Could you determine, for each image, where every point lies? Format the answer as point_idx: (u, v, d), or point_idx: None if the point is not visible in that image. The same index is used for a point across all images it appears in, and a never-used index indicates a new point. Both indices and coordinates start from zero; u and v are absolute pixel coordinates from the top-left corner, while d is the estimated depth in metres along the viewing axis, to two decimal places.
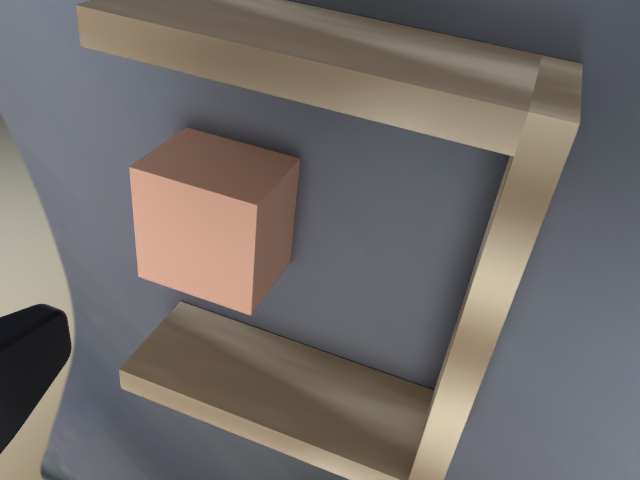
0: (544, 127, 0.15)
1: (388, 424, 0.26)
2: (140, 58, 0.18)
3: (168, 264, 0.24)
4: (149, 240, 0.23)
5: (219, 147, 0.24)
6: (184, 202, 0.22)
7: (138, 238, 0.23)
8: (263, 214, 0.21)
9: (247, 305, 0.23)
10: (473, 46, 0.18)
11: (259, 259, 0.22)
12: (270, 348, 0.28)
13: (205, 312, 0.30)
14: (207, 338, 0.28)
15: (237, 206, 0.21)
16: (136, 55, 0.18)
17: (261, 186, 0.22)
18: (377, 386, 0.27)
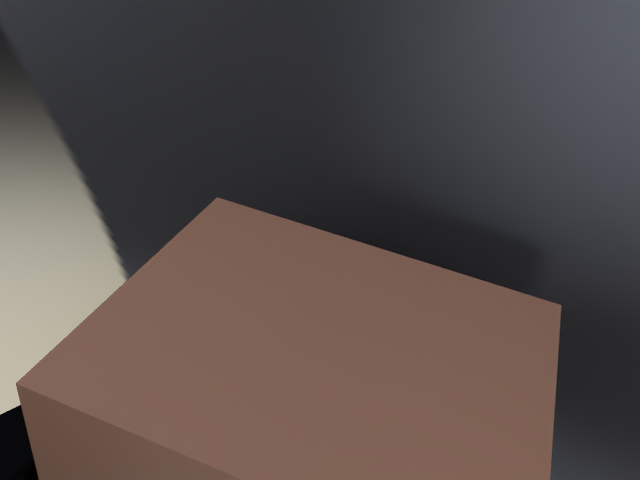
0: None
1: None
2: None
3: None
4: None
5: (316, 274, 0.08)
6: None
7: None
8: None
9: None
10: None
11: None
12: None
13: None
14: None
15: None
16: None
17: (506, 464, 0.06)
18: None
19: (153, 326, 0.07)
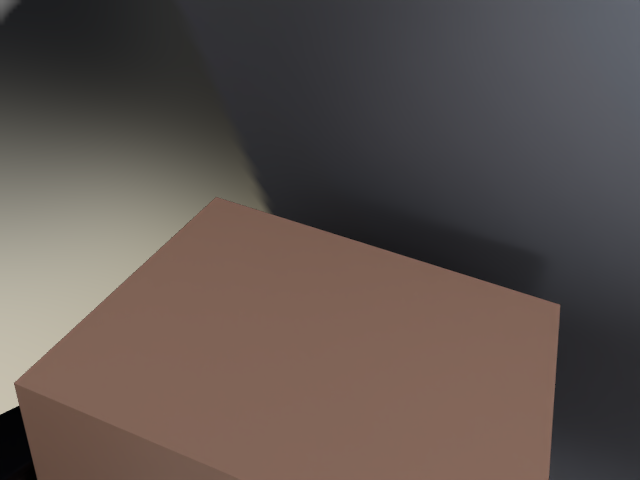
0: None
1: None
2: None
3: None
4: None
5: (315, 274, 0.08)
6: None
7: None
8: None
9: None
10: None
11: None
12: None
13: None
14: None
15: None
16: None
17: (505, 465, 0.06)
18: None
19: (152, 326, 0.07)
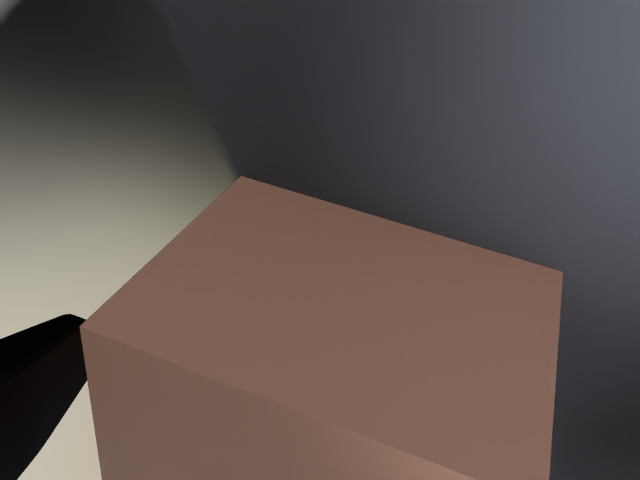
0: None
1: None
2: None
3: None
4: None
5: (339, 239, 0.09)
6: (261, 445, 0.07)
7: None
8: None
9: None
10: None
11: None
12: None
13: None
14: None
15: None
16: None
17: (516, 396, 0.07)
18: None
19: (196, 281, 0.07)
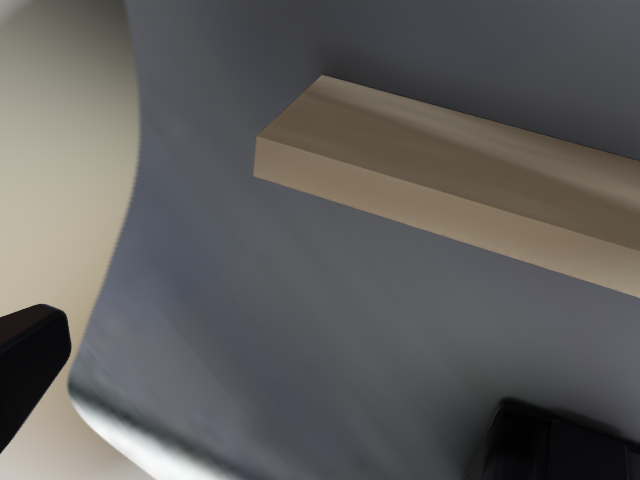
0: None
1: None
2: None
3: None
4: None
5: None
6: None
7: None
8: None
9: None
10: None
11: None
12: (480, 130, 0.18)
13: (364, 88, 0.19)
14: (380, 113, 0.18)
15: None
16: None
17: None
18: None
19: None
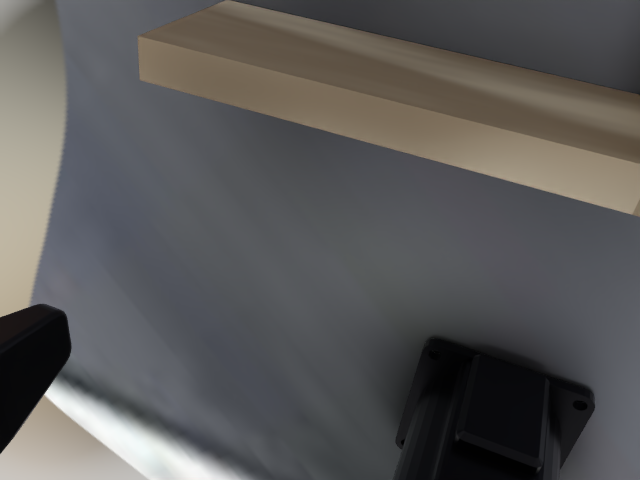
0: None
1: (588, 115, 0.15)
2: None
3: None
4: None
5: None
6: None
7: None
8: None
9: None
10: None
11: None
12: (373, 42, 0.18)
13: (266, 10, 0.20)
14: (274, 27, 0.18)
15: None
16: None
17: None
18: (551, 84, 0.17)
19: None
